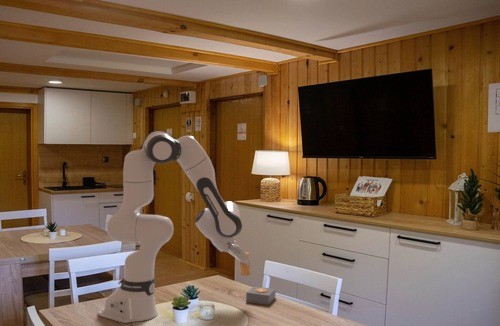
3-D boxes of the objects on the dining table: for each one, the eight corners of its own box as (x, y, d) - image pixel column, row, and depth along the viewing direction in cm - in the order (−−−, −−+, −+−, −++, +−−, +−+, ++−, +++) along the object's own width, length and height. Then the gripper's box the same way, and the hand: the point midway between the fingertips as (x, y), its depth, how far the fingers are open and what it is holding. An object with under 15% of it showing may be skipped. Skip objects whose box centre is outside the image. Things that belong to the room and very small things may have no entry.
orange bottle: (239, 275, 186) (239, 254, 186) (240, 272, 190) (241, 251, 190) (249, 276, 186) (250, 254, 185) (250, 273, 190) (251, 252, 190)
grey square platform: (246, 301, 190) (246, 292, 190) (253, 295, 199) (254, 285, 199) (268, 305, 187) (268, 295, 186) (275, 298, 196) (275, 288, 196)
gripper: (238, 240, 175) (260, 263, 179) (223, 231, 194) (243, 251, 198) (227, 252, 174) (250, 275, 178) (213, 241, 193) (233, 262, 197)
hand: (246, 262), depth 188 cm, fingers closed on orange bottle, 4 cm apart
